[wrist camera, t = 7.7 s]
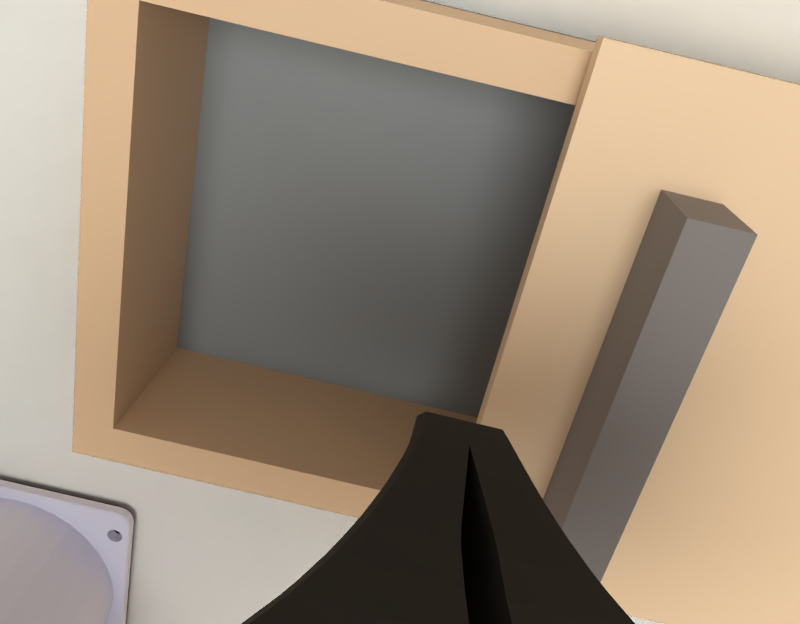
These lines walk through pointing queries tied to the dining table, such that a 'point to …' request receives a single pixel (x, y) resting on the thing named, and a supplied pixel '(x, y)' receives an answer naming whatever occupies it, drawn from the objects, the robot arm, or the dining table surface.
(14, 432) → the dining table surface
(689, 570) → the lid
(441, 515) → the robot arm
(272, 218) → the box
